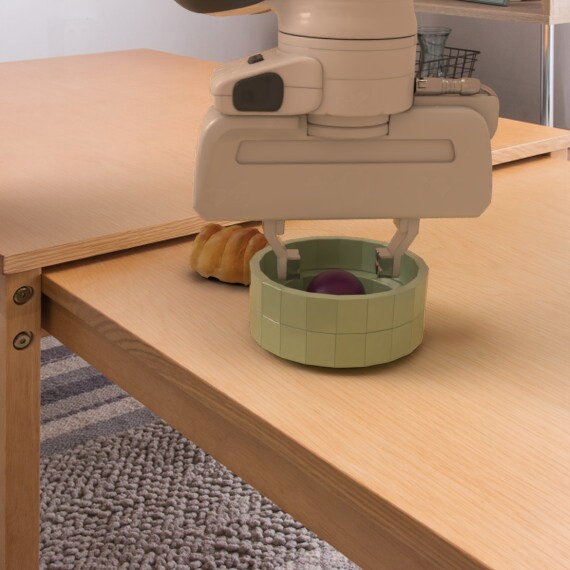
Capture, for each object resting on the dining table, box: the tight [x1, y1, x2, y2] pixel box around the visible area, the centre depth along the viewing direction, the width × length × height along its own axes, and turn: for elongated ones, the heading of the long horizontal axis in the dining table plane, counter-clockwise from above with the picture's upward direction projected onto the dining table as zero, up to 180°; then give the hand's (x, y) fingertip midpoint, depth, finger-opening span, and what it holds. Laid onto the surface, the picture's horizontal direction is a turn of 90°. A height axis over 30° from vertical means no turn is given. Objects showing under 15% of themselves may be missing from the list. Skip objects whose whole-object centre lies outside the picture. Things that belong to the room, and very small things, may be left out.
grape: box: [306, 269, 366, 295], centre depth 66 cm, size 4×4×4 cm
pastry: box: [188, 222, 270, 286], centre depth 77 cm, size 9×7×4 cm
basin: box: [248, 235, 430, 369], centre depth 66 cm, size 12×12×6 cm
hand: (337, 276), depth 65 cm, fingers open, 6 cm apart
